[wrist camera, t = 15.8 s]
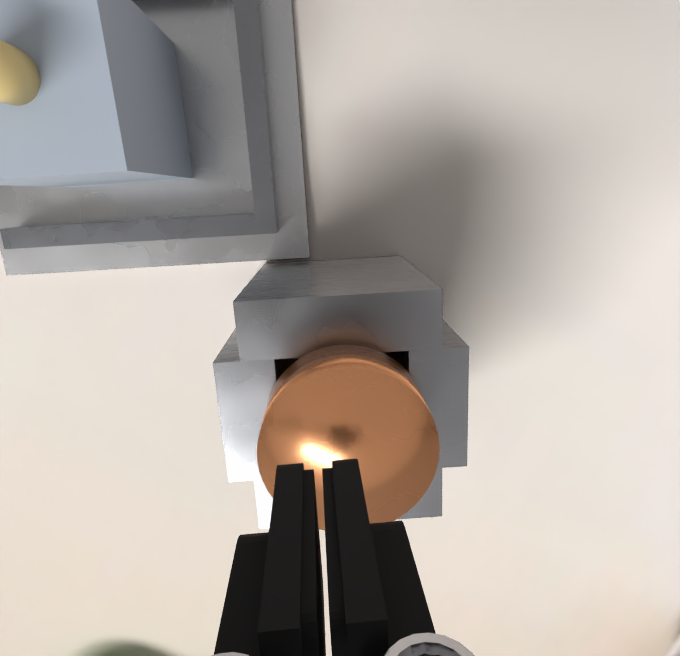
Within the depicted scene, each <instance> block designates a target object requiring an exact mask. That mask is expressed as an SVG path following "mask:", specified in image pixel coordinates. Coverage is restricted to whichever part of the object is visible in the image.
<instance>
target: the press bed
mask: <svg viewBox="0 0 680 656" xmlns="http://www.w3.org/2000/svg"><path fill="white" fill-rule="evenodd" d="M132 1H133V2H134V3H135V4H136V5H137V6H138V7H139V8H140V9H141V10H142V11H143V12H144V13H145V14H146V15H147V16H148V17H149V18H150V19H151V20H152V21H153V22H154V23H155V24H156V25H157V27H158V28H159V29H160V30H161V31H162V32H163V33H164V34H165V35H166V36H167V37H168V38H169V39H170V40H171V41H172V42H173V43H174V49H175V56H176V63H177V70H178V77H179V84H180V90H181V97H182V104H183V111H184V118H185V125H186V132H187V139H188V146H189V153H190V160H191V167H192V174H193V178H192V179H178V180H164V181H150V182H136V183H122V184H108V185H94V186H80V187H47V186H10V185H0V250H1V254H2V259H3V263H4V267H5V271H6V275H23V274H40V273H57V272H74V271H90V270H107V269H124V268H141V267H157V266H174V265H191V264H208V263H224V262H241V261H258V260H275V259H291V258H308V257H310V253H309V239H308V225H307V211H306V197H305V183H304V169H303V155H302V141H301V128H300V114H299V100H298V86H297V72H296V58H295V44H294V30H293V16H292V2H291V0H132Z"/></svg>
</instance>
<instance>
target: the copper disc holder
mask: <svg viewBox="0 0 680 656" xmlns="http://www.w3.org/2000/svg"><path fill="white" fill-rule="evenodd" d="M233 306H234V315H235V323H236V328H235V330H234V331H233V333H232V334H231V336H230V337H229V339H228V341H227V342H226V344H225V345H224V347H223V348H222V350H221V351H220V353H219V354H218V356H217V357H216V359H215V360H214V362H213V369H214V376H215V384H216V391H217V399H218V406H219V414H220V421H221V429H222V436H223V444H224V451H225V459H226V466H227V474H228V481H229V482H239V481H253V480H254V486H255V494H256V503H257V511H258V520H259V528H260V529H264V528H270V519H271V511H272V502H273V498H272V497H271V495H270V494H269V492H268V491H267V489H266V487H265V485H264V483H263V481H262V478H261V475H260V472H259V468H258V462H257V443H258V437H259V433H260V429H261V426H262V422H263V418H264V414H265V411H266V407H267V403H268V399H269V396H270V394H271V391H272V389H273V387H274V385H275V384H276V382H277V380H278V379H279V377H280V376H281V375H282V374H283V372H284V371H285V370H286V369H287V368H288V367H289V366H290V365H291V364H293V363H294V362H295V361H296V359H295V358H301V357H303V356H305V355H306V354H308V353H310V352H313V351H315V350H318V349H321V348H325V347H329V346H335V345H358V346H364V347H368V348H372V349H375V350H377V351H380V352H383V353H384V354H386V355H388V356H390V357H392V358H393V359H394V360H396V361H397V362H398V363H400V364H401V365H402V366H403V367H404V368H405V369H406V370H407V371H408V373H409V374H410V375H411V377H412V378H413V379H414V381H415V383H416V385H417V386H418V388H419V390H420V392H421V394H422V396H423V398H424V400H425V402H426V405H427V407H428V409H429V411H430V413H431V415H432V417H433V419H434V422H435V424H436V427H437V431H438V436H439V445H440V452H439V462H438V466H437V470H436V473H435V476H434V478H433V481H432V483H431V484H430V486H429V488H428V490H427V491H426V493H425V494H424V495H423V497H422V498H421V499H420V500H419V501H418V502H417V504H416V505H415V506H414V507H412V508H411V509H410V510H409V511H408V512H407V513H405V514H404V515H402V516H401V517H399V518H398V519H408V518H422V517H436V516H442V468H445V467H460V466H467V435H468V375H469V346H468V345H467V344H466V343H465V342H464V341H463V340H462V339H461V338H460V337H459V336H458V335H457V334H456V333H455V332H454V331H453V330H452V329H451V328H450V326H449V325H448V324H447V323H446V322H445V321H444V320H443V319H442V288H440V287H439V286H438V285H437V284H435V283H434V282H433V281H432V280H430V279H429V278H428V277H427V276H425V275H424V274H423V273H422V272H420V271H419V270H418V269H417V268H415V267H414V266H413V265H412V264H410V263H409V262H408V261H407V260H405V259H404V258H403V257H402V256H387V257H370V258H353V259H337V260H320V261H303V262H287V263H270V264H264V265H263V266H262V268H261V269H260V270H259V271H258V272H257V274H256V275H255V276H254V277H253V278H252V280H251V281H250V282H249V283H248V284H247V286H246V287H245V288H244V289H243V290H242V292H241V293H240V294H239V295H238V296H237V298H236V299H235V300H234V301H233Z"/></svg>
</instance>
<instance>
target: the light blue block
mask: <svg viewBox="0 0 680 656" xmlns="http://www.w3.org/2000/svg"><path fill="white" fill-rule="evenodd" d="M192 178H193V174H192V167H191V160H190V153H189V146H188V139H187V132H186V125H185V118H184V111H183V104H182V97H181V90H180V84H179V77H178V70H177V63H176V56H175V49H174V43H173V42H172V41H171V40H170V39H169V38H168V37H167V36H166V35H165V34H164V33H163V32H162V31H161V30H160V29H159V28H158V27H157V25H156V24H155V23H154V22H153V21H152V20H151V19H150V18H149V17H148V16H147V15H146V14H145V13H144V12H143V11H142V10H141V9H140V8H139V7H138V6H137V5H136V4H135V3H134V2H133V1H132V0H0V185H10V186H47V187H80V186H94V185H108V184H122V183H136V182H150V181H164V180H178V179H192Z"/></svg>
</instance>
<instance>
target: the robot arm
mask: <svg viewBox="0 0 680 656" xmlns="http://www.w3.org/2000/svg"><path fill="white" fill-rule="evenodd" d="M322 476H323V497H324V517H325V537H326V557H327V577H328V597H329V616H330V632H331V646H332V656H474V654H473V653H472V652H471V651H469V650H468V649H467V648H466V647H465V646H463V645H462V644H461V643H460V642H458V641H455V640H453V639H451V638H449V637H447V636H445V635H439V634H436V633H435V630H434V626H433V623H432V619H431V616H430V613H429V609H428V606H427V602H426V599H425V595H424V592H423V588H422V585H421V581H420V578H419V575H418V571H417V568H416V564H415V561H414V557H413V554H412V550H411V547H410V543H409V540H408V536H407V533H406V530H405V526H404V524H403V522H402V521H392V522H381V523H370V522H369V517H368V511H367V506H366V501H365V495H364V490H363V485H362V479H361V474H360V468H359V463H358V459H357V458H356V459H344V460H332V468H322ZM213 656H326V649H325V622H324V595H323V578H322V565H321V552H320V539H319V527H318V514H317V501H316V489H315V476H314V469H309V470H304V464H303V463H295V464H283V465H277V468H276V476H275V485H274V493H273V502H272V511H271V519H270V528H269V532H268V533H257V534H246V535H240V536H239V537H238V540H237V544H236V549H235V554H234V559H233V564H232V569H231V573H230V578H229V583H228V588H227V593H226V598H225V603H224V608H223V612H222V617H221V622H220V627H219V632H218V637H217V642H216V647H215V651H214V655H213Z"/></svg>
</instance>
